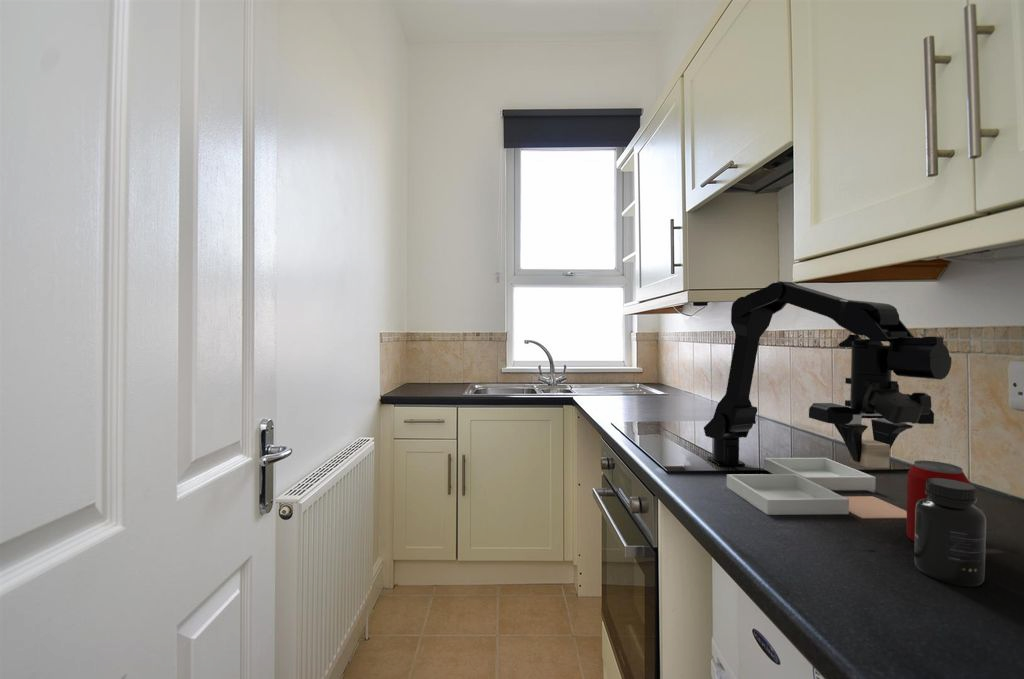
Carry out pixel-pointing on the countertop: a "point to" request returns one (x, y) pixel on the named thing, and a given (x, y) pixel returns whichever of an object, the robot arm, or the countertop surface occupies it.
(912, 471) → the beverage can
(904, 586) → the countertop surface
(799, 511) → the tray
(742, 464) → the robot arm
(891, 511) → the tile
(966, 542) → the supplement bottle
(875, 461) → the beech cube
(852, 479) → the tray
